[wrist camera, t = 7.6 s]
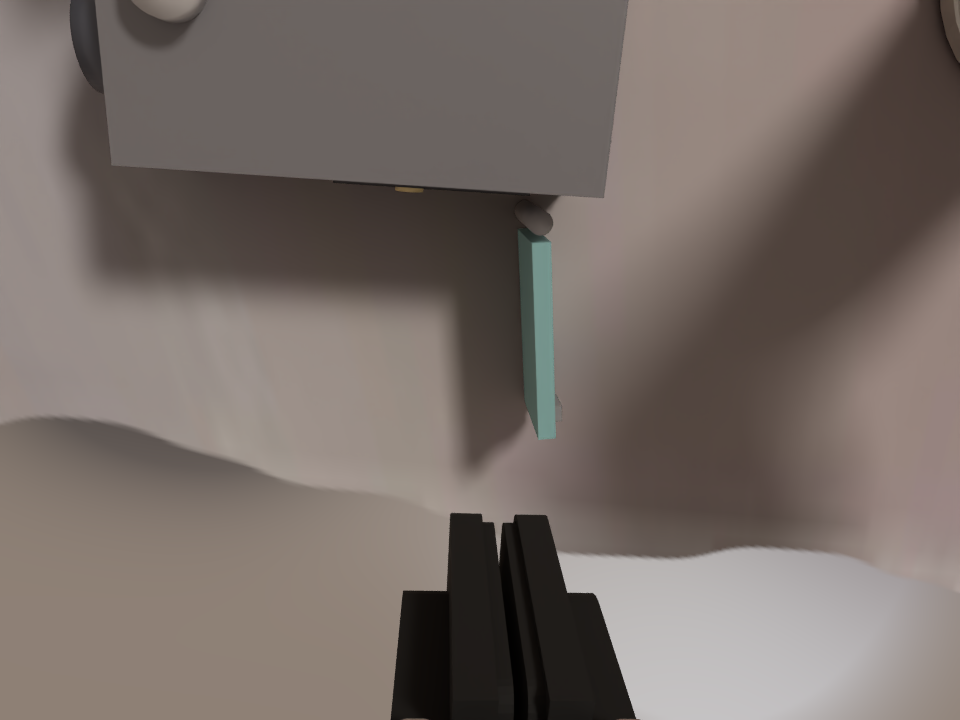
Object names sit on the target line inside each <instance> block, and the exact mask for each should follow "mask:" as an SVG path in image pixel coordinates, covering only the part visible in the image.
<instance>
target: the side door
mask: <svg viewBox="0 0 960 720" xmlns="http://www.w3.org/2000/svg"><path fill="white" fill-rule="evenodd" d="M514 212H515V216H516V217H517V219H519V220H520V221H521V222H522V223H523V224H524V225H525V226H526V227H527V228H521V229H518V248H519V274H520V299H521V324H522V349H523V374H524V399H525V403H526V406H527V409H528V412H529V415H530V417H531V420H532V423H533V426H534V429H535V431H536V434H537V437H538V440H541V439H553V438H556V429H555V422H558V421H562V405H561V403H560V401H559V399H558V397H557V395H556V394H555V387H554V345H553V304H552V262H551V242H550V241H549V240H548V239H547V238H546V237H544V236H543V235H546V234H547V233H549V232H550V230H551V229H552V226H553V220H552V217H551V216H550V214H548V213H547V212H545V211H544V210H542V209H541V208H539V207H538V206H536V205H534V204H533V203H531V202H530V201H527V200H523V201H520V202H519V203H518V204H517V205H516V207H515V211H514Z"/></svg>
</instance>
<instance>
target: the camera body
mask: <svg viewBox="0 0 960 720" xmlns="http://www.w3.org/2000/svg"><path fill="white" fill-rule="evenodd" d="M627 8H628V0H71V4H70V27H71V35H72V41H73V46H74V50H75V53H76V57H77V60H78V62H79V65H80V67H81V70H82V72H83V74H84V76H85V77H86V79H87V80H88V82H89V83H90V85H91V86H92V87H93V88H94V89H95V90H97V91H98V92H100V93H104V96H105V106H106V116H107V125H108V135H109V145H110V155H111V165H113V166H128V167H143V168H158V169H173V170H188V171H203V172H218V173H233V174H248V175H263V176H278V177H293V178H308V179H323V180H333V183H345V184H360V185H376V186H391V187H395V190H396V191H402V192H423V189H436V190H451V191H466V192H481V193H496V194H511V195H526V196H530V193H533V194H548V195H563V196H578V197H593V198H604V193H605V185H606V177H607V169H608V160H609V152H610V144H611V136H612V128H613V120H614V112H615V104H616V96H617V88H618V80H619V72H620V64H621V56H622V48H623V40H624V32H625V24H626V16H627Z"/></svg>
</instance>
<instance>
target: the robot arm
mask: <svg viewBox="0 0 960 720" xmlns="http://www.w3.org/2000/svg"><path fill="white" fill-rule="evenodd" d="M940 8H941V14H942V19H943V24H944V28H945V33H946V37H947V39H948V41H949V44H950V46H951V48H952V50H953V53H954V55H955V57H956V59H957V61H958V62H959V63H960V0H940ZM449 533H450V534H449V554H448V576H447V591H403V597H402V607H401V617H400V628H399V638H398V648H397V659H396V669H395V680H394V690H393V702H392V711H391V720H639V719H636V717H635V714H634V711H633V708H632V704H631V701H630V698H629V695H628V692H627V689H626V686H625V683H624V680H623V677H622V674H621V670H620V667H619V664H618V661H617V658H616V655H615V652H614V649H613V645H612V642H611V639H610V636H609V633H608V630H607V627H606V624H605V621H604V617H603V614H602V611H601V608H600V605H599V602H598V600H597V598H596V596H595V595H594V594H593V593H567V591H566V587H565V583H564V579H563V575H562V571H561V567H560V563H559V560H558V556H557V552H556V548H555V544H554V540H553V536H552V533H551V529H550V525H549V521H548V518H547V516H546V515H515V516H514V522H513V523H503V525H502V534H501V548H500V560H499V561H498V553H497V545H496V536H495V528H494V523H493V522H482V514H468V513H451V514H450V532H449Z"/></svg>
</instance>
